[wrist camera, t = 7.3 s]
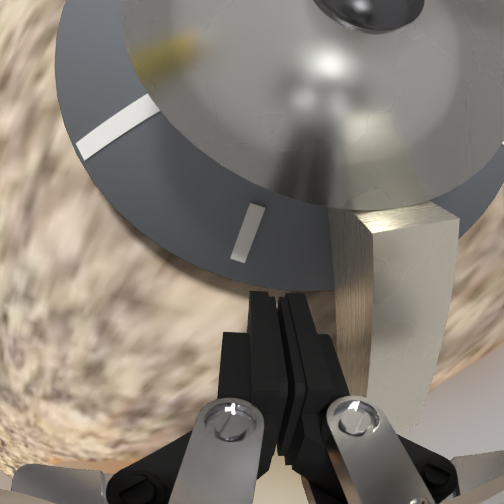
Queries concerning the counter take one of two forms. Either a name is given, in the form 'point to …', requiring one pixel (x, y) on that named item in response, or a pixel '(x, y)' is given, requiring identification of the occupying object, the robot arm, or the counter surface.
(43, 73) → the counter surface
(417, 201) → the dial
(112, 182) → the base plate
